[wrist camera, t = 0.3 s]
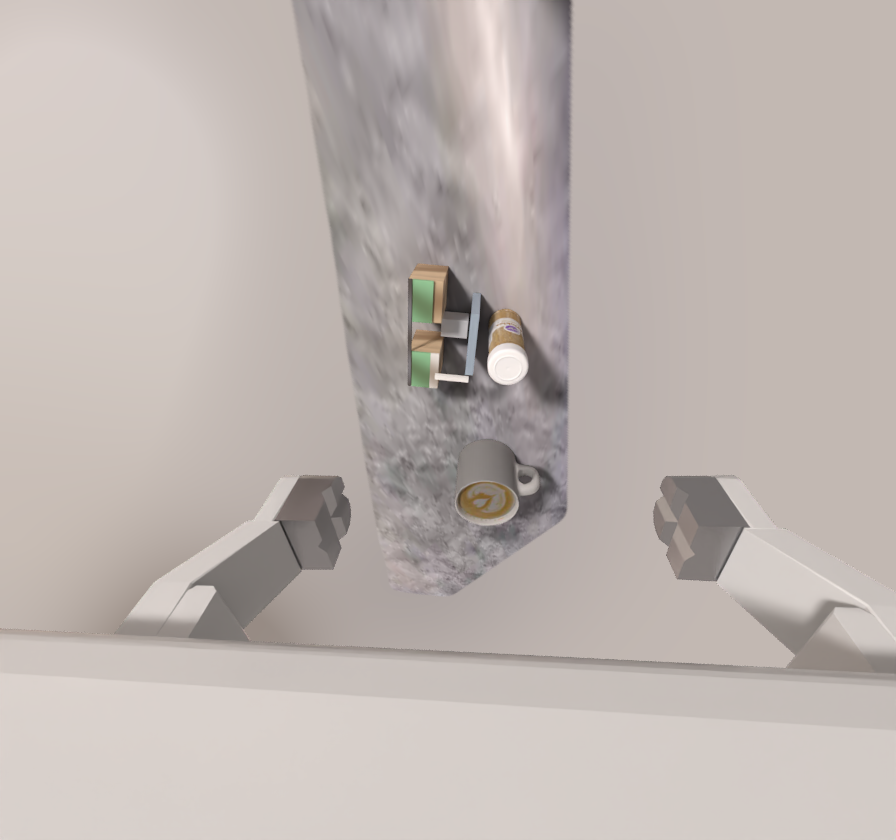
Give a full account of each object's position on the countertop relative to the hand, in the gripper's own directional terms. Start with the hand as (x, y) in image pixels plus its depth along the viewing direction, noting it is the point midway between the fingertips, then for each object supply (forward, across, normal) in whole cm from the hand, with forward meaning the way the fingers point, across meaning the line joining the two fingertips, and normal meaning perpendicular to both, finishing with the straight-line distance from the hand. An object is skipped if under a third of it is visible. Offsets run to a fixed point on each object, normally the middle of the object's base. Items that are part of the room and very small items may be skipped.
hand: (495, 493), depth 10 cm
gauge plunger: (+46, +4, +12) cm, 47 cm away
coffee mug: (+46, 0, +38) cm, 60 cm away
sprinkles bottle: (+46, -2, +13) cm, 48 cm away
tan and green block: (+46, +8, +12) cm, 48 cm away
